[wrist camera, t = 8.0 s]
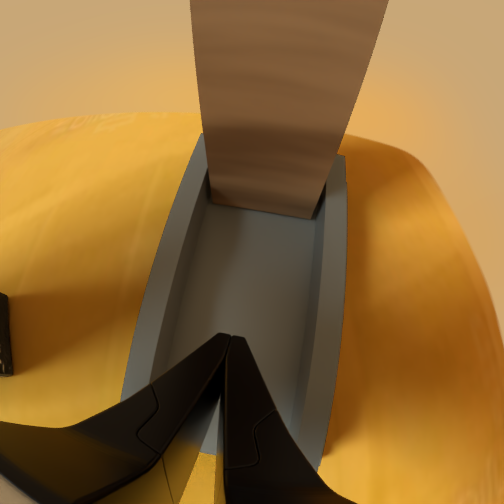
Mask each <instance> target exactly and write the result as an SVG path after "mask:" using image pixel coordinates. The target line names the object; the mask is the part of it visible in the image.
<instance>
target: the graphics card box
mask: <svg viewBox="0 0 504 504" xmlns="http://www.w3.org/2000/svg"><path fill="white" fill-rule="evenodd" d="M12 374H13V370H12V361H11V352H10V343H9V325H8V297H7V295H5V294H2V293H1V292H0V377H8V376H11V375H12Z"/></svg>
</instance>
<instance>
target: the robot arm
mask: <svg viewBox="0 0 504 504" xmlns="http://www.w3.org/2000/svg"><path fill="white" fill-rule="evenodd" d="M219 399H220V404H219V418H218V434H217V451H216V470H215V491H214V504H357V503H355V502H353V501H351V500H348V499H346V498H344V497H342V496H340V495H338V494H337V493H336V492H334V491H333V490H332V489H330V488H329V487H328V486H327V485H326V484H325V483H324V481H323V480H322V479H321V477H320V476H319V475H318V473H317V472H316V471H315V469H314V468H313V467H312V465H311V464H310V463H309V461H308V460H307V458H306V457H305V456H304V454H303V453H302V451H301V450H300V448H299V447H298V445H297V444H296V442H295V441H294V439H293V438H292V436H291V435H290V433H289V431H288V429H287V427H286V425H285V424H284V422H283V420H282V418H281V415H280V413H279V411H278V410H277V407H276V405H275V403H274V401H273V399H272V396H271V394H270V392H269V390H268V388H267V385H266V383H265V381H264V379H263V377H262V374H261V372H260V370H259V368H258V365H257V363H256V361H255V359H254V356H253V354H252V352H251V349H250V347H249V345H248V343H247V340H246V338H245V337H243V336H237V335H233V336H232V337H231V335H230V334H226V333H221V332H219V333H217V334H216V335H214V336H213V337H212V338H210V339H209V340H208V341H206V342H205V343H204V344H202V345H201V346H200V347H199V348H197V349H196V350H195V351H193V352H192V353H191V354H189V355H188V356H187V357H185V358H184V359H182V360H181V361H180V362H178V363H177V364H176V365H174V366H173V367H172V368H170V369H169V370H168V371H166V372H165V373H163V374H162V375H161V376H159V377H158V378H157V379H155V380H154V381H152V382H151V384H148V385H147V386H145V387H144V388H142V389H141V390H139V391H138V392H136V393H135V394H133V395H132V396H130V397H129V398H127V399H125V400H123V401H122V402H120V403H118V404H116V405H114V406H112V407H110V408H108V409H106V410H104V411H102V412H100V413H98V414H96V415H94V416H92V417H90V418H88V419H86V420H84V421H82V422H79V423H77V424H75V425H72V426H68V427H63V428H48V427H37V426H29V425H21V424H15V423H8V422H3V421H0V504H179V502H180V500H181V497H182V495H183V492H184V490H185V487H186V485H187V482H188V480H189V477H190V475H191V472H192V470H193V467H194V465H195V462H196V460H197V457H198V454H199V452H200V449H201V447H202V444H203V442H204V439H205V436H206V434H207V431H208V429H209V426H210V423H211V421H212V418H213V416H214V413H215V410H216V408H217V405H218V402H219Z"/></svg>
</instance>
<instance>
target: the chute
mask: <svg viewBox="0 0 504 504" xmlns="http://www.w3.org/2000/svg"><path fill="white" fill-rule="evenodd" d="M346 265H347V182H346V168H345V156H342V155H338V154H336V156H335V159H334V162H333V164H332V167H331V169H330V172H329V174H328V177H327V179H326V182H325V184H324V187H323V189H322V192H321V194H320V197H319V199H318V202H317V204H316V207H315V209H314V212H313V214H312V216H311V219H305V218H299V217H293V216H288V215H282V214H276V213H270V212H265V211H259V210H252V209H246V208H240V207H233V206H227V205H220V204H214V203H213V200H212V193H211V187H210V179H209V172H208V165H207V158H206V150H205V142H204V135H203V133H201V135H200V137H199V139H198V142H197V144H196V146H195V149H194V151H193V154H192V156H191V158H190V161H189V163H188V166H187V168H186V171H185V173H184V176H183V179H182V181H181V184H180V186H179V189H178V192H177V194H176V197H175V200H174V203H173V205H172V208H171V211H170V214H169V217H168V220H167V222H166V225H165V228H164V231H163V234H162V237H161V240H160V243H159V247H158V250H157V253H156V256H155V259H154V262H153V266H152V269H151V272H150V276H149V279H148V283H147V286H146V290H145V293H144V297H143V301H142V305H141V308H140V312H139V316H138V320H137V324H136V328H135V332H134V336H133V341H132V345H131V350H130V354H129V359H128V363H127V368H126V373H125V378H124V384H123V389H122V395H121V400H120V402H122V401H123V400H125V399H127V398H129V397H130V396H132V395H133V394H135V393H136V392H138V391H139V390H141V389H142V388H144V387H145V386H147V385H148V384H151V382H152V381H154V380H155V379H157V378H158V377H159V376H161V375H162V374H163V373H165V372H166V371H168V370H169V369H170V368H172V367H173V366H174V365H176V364H177V363H178V362H180V361H181V360H182V359H184V358H185V357H187V356H188V355H189V354H191V353H192V352H193V351H195V350H196V349H197V348H199V347H200V346H201V345H202V344H204V343H205V342H206V341H208V340H209V339H210V338H212V337H213V336H214V335H216V334H217V333H219V332H221V333H226V334H230V335H231V337H232V336H233V335H237V336H243V337H245V338H246V340H247V343H248V345H249V347H250V349H251V352H252V354H253V356H254V359H255V361H256V363H257V365H258V368H259V370H260V372H261V374H262V377H263V379H264V381H265V383H266V385H267V388H268V390H269V392H270V394H271V396H272V399H273V401H274V403H275V405H276V407H277V410H278V411H279V413H280V415H281V418H282V420H283V422H284V424H285V425H286V427H287V429H288V431H289V433H290V435H291V436H292V438H293V439H294V441H295V442H296V444H297V445H298V447H299V448H300V450H301V451H302V453H303V454H304V456H305V457H306V458H307V460H308V461H309V463H310V464H311V465H312V467H313V468H314V469H315V471H316V472H317V471H318V466H320V463H321V459H322V454H323V450H324V445H325V441H326V436H327V431H328V425H329V420H330V415H331V409H332V403H333V397H334V391H335V384H336V377H337V370H338V362H339V354H340V345H341V336H342V325H343V314H344V301H345V286H346ZM219 404H220V399H219V402H218V405H217V408H216V410H215V413H214V416H213V418H212V421H211V423H210V426H209V429H208V431H207V434H206V436H205V439H204V442H203V444H202V447H201V449H200V452H202V453H207V454H212V455H216V451H217V434H218V418H219Z"/></svg>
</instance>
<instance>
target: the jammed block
mask: <svg viewBox="0 0 504 504" xmlns="http://www.w3.org/2000/svg"><path fill="white" fill-rule="evenodd" d="M388 1H389V0H190V10H191V21H192V33H193V44H194V55H195V65H196V74H197V84H198V92H199V102H200V110H201V118H202V127H203V135H204V142H205V150H206V158H207V165H208V172H209V179H210V187H211V193H212V200H213V203H214V204H220V205H227V206H233V207H240V208H246V209H252V210H259V211H265V212H270V213H276V214H282V215H288V216H293V217H299V218H305V219H311V216H312V214H313V212H314V209H315V207H316V204H317V202H318V199H319V197H320V194H321V192H322V189H323V187H324V184H325V182H326V179H327V177H328V174H329V172H330V169H331V167H332V164H333V162H334V159H335V156H336V154H337V151H338V149H339V146H340V143H341V141H342V138H343V135H344V133H345V130H346V127H347V125H348V122H349V119H350V116H351V114H352V111H353V108H354V105H355V103H356V100H357V97H358V94H359V91H360V88H361V85H362V82H363V80H364V77H365V74H366V71H367V68H368V65H369V62H370V59H371V56H372V53H373V50H374V47H375V43H376V40H377V37H378V34H379V31H380V27H381V24H382V21H383V18H384V14H385V11H386V8H387V4H388Z"/></svg>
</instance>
